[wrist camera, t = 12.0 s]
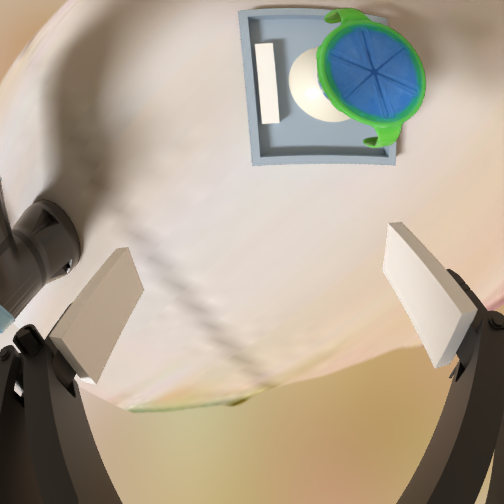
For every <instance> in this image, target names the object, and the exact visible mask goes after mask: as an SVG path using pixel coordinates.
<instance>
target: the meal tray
mask: <svg viewBox="0 0 504 504" xmlns="http://www.w3.org/2000/svg"><path fill="white" fill-rule="evenodd" d="M330 11H332V10H327V9H311V8H270V9H253V10H242V11H238V14H239V25H240V35H241V45H242V56H243V66H244V77H245V88H246V99H247V110H248V121H249V132H250V144H251V155H252V166H261V165H281V164H375V165H394V166H396V142H395V143H393V144H392V145H389V146H384V147H380V148H371V147H368V146H366V145H365V144H364V143H363V140H364V139H366V138H370V137H378V136H377V133H376V131H375V129H374V128H373V127H372V126H370V125H366V124H363V123H360V122H358V121H356V120H354V119H352V118H350V117H348V116H347V115H345V114H344V113H343V112H339V111H338V110H337V109H336V108H335V107H334V106H333V105H332V104H331V102H330V101H329V100H328V99H327V98H326V97H325V96H324V94H323V92H322V90H321V89H320V86H319V84H318V78H317V59H316V53H317V49H318V47H319V46H320V45H321V44H322V42H323V41H324V39H325V38H326V36H327V35H328V34H329V33H330V32H331V31H333V30H334V29H335V28H337V27H338V26H340V25H341V22H339V23H333V24H330V23H327V22H325V21H324V18H325V16H326V15H327V14H328V13H329V12H330ZM365 15H366V16H367V17H368V18H369V19H370V20H371V21H373V22H377V23H380V24H383V25H385V26H387V27H389V26H388V20H387V18H384V17H379V16H373V15H368V14H365Z"/></svg>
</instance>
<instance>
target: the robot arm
mask: <svg viewBox="0 0 504 504" xmlns="http://www.w3.org/2000/svg"><path fill="white" fill-rule="evenodd" d="M1 180H2V178H1V177H0V334H1V333H3V332H4V331H5V330H6V329H7V327H8V326H9V325H11V324H12V323H13V322H14V321H15V319H16V317H17V316H18V315H19V314H20V312H21V311H22V310H23V309H24V308H25V307H26V305H27V304H28V303H29V302H30V301H31V300H32V298H33V297H34V296H35V295H36V294H37V293H38V292H39V291H40V289H41V288H42V287H43V286H44V285H45V284H47V283H49V282H51V281H54V280H56V279H58V278H61V277H63V276H65V275H67V274H68V273H69V272H70V271H71V270H72V269H73V268H74V267H75V266H76V265H77V263H78V260H79V256H80V245H79V240H78V236H77V233H76V230H75V228H74V226H73V224H72V222H71V220H70V219H69V217H68V216H67V215H66V213H65V212H64V211H63V210H62V209H61V208H60V207H59V206H57V205H56V204H54V203H53V202H50V201H47V200H40V201H37V202H36V203H34V204H32V205H31V206H29V207H28V208H27V209H26V210H25V211H24V213H23V214H22V216H21V217H20V218H19V220H18V221H17V223H16V224H15V226H14V227H13V228H12V229H11V227H10V223H9V219H8V215H7V211H6V207H5V202H4V197H3V191H2V185H1ZM382 271H383V272H384V274H385V276H386V277H387V279H388V281H389V282H390V284H391V286H392V288H393V289H394V291H395V293H396V294H397V296H398V298H399V300H400V301H401V303H402V305H403V307H404V309H405V310H406V312H407V314H408V316H409V318H410V320H411V322H412V323H413V325H414V327H415V329H416V331H417V333H418V335H419V337H420V339H421V341H422V343H423V345H424V347H425V349H426V351H427V353H428V355H429V357H430V359H431V361H432V363H433V366H434V368H435V369H436V368H439V367H442V366H445V365H448V364H450V363H451V361H452V360H453V358H454V356H455V354H457V356H458V357H459V359H460V360H459V362H458V364H457V365H456V367H455V368H454V370H453V372H452V373H451V375H450V377H449V378H452V376H453V375H454V377H453V380H452V384H451V387H450V391H449V393H448V396H447V399H446V402H445V405H444V408H443V411H442V414H441V416H440V419H439V422H438V424H437V427H436V429H435V431H434V434H433V437H432V439H431V441H430V443H429V445H428V447H427V450H426V452H425V454H424V456H423V458H422V460H421V462H420V464H419V466H418V468H417V470H416V472H415V473H414V475H413V477H412V479H411V481H410V482H409V484H408V486H407V487H406V489H405V491H404V492H403V494H402V496H401V497H400V499H399V500H398V502H397V503H396V504H474V503H475V501H476V499H477V496H478V494H479V492H480V489H481V487H482V484H483V482H484V479H485V477H486V474H487V471H488V468H489V465H490V462H491V459H492V456H493V452H494V460H493V467H492V474H491V480H490V485H489V491H488V495H487V499H486V503H485V504H504V316H503V315H502V314H501V313H499V312H497V311H487V309H486V308H485V307H484V305H483V304H482V303H481V301H480V300H479V299H478V298H477V296H476V295H475V294H474V292H473V291H472V290H470V288H469V286H468V285H467V284H465V282H464V280H463V279H462V278H461V277H460V276H459V275H458V274H457V273H455V272H454V271H452V270H451V269H445V268H444V267H443V266H442V264H441V263H440V262H439V261H438V260H437V259H436V258H435V257H434V255H433V254H432V253H431V252H430V251H429V250H428V249H427V248H426V247H425V246H424V245H423V244H422V242H421V241H420V240H419V239H418V238H417V237H416V236H415V235H414V234H413V233H412V232H411V231H410V230H409V229H408V228H407V227H406V226H405V225H404V224H403V223H402V222H397V223H388V231H387V241H386V249H385V256H384V263H383V270H382ZM143 291H144V288H143V286H142V283H141V281H140V278H139V275H138V273H137V270H136V267H135V265H134V262H133V259H132V257H131V254H130V251H129V248H128V247H127V248H118V249H116V250H115V251H114V252H113V254H112V255H111V256H110V257H109V258H108V259H107V261H106V262H105V263H104V264H103V265H102V266H101V268H100V269H99V270H98V271H97V272H96V274H95V275H94V276H93V277H92V279H91V280H90V281H89V282H88V284H87V285H86V286H85V287H84V289H83V290H82V291H81V293H80V294H79V295H78V296H77V298H76V299H75V300H74V302H73V303H71V304H70V305H69V306H68V308H67V309H66V310H65V312H64V314H62V316H61V317H60V318H59V320H58V321H57V323H56V324H55V326H54V327H53V328H52V330H51V331H50V333H49V334H48V336H47V337H46V339H45V340H44V339H43V338H42V336H41V335H40V333H39V332H38V330H37V329H36V327H35V326H34V325H32V324H28V325H26V326H24V327H22V328H21V329H20V330H19V331H18V332H17V333H16V334H15V336H14V338H13V342H14V343H15V345H16V346H17V347H18V349H19V350H20V351H21V353H18V352H17V350H16V349H15V348H14V346H12V345H8V346H6V347H4V348H3V349H1V351H0V504H122V502H121V500H120V498H119V496H118V494H117V492H116V490H115V488H114V486H113V484H112V482H111V480H110V478H109V475H108V473H107V471H106V469H105V467H104V464H103V462H102V459H101V457H100V455H99V452H98V449H97V446H96V444H95V441H94V438H93V435H92V432H91V430H90V427H89V424H88V420H87V417H86V414H85V410H84V407H83V403H82V400H81V396H80V392H79V388H78V384H77V382H76V381H75V379H74V377H75V375H76V373H77V375H78V376H79V377H80V378H81V379H82V381H83V382H87V383H91V384H97V382H98V380H99V378H100V376H101V373H102V371H103V369H104V367H105V365H106V363H107V361H108V358H109V356H110V354H111V352H112V350H113V348H114V346H115V344H116V342H117V340H118V338H119V336H120V334H121V332H122V330H123V328H124V326H125V325H126V323H127V321H128V319H129V317H130V315H131V313H132V311H133V309H134V308H135V306H136V304H137V302H138V300H139V298H140V297H141V295H142V293H143ZM15 385H16V386H17V387H18V389H19V390H20V391H22V396H19V395H18V394H17V393H16V392H15V391H14V386H15ZM494 449H495V451H494Z"/></svg>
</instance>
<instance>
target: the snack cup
mask: <svg viewBox="0 0 504 504" xmlns="http://www.w3.org/2000/svg"><path fill="white" fill-rule="evenodd" d="M324 21H325V22H327V23H330V24H333V23H339V22H341V25H340V26H338V27H337V28H335V29H334V30H333V31H331V32H330V33H329V34H328V35H327V36H326V38H325V39H324V41H323V42H322V44H321V45H320V46H319V47H318V49H317V53H316V59H317V78H318V84H319V86H320V89H321V90H322V92H323V94H324V96H325V97H326V98H327V99H328V100H329V101H330V102H331V104H332V105H333V106H334V107H335V108H336V109H337V110H338V111H339V112H343V113H344V114H345V115H347V116H348V117H350V118H352V119H354V120H356V121H358V122H360V123H363V124H366V125H370V126H372V127H373V128H374V129H375V131H376V133H377V136H378V137H370V138H366V139H364V140H363V143H364V144H365V145H366V146H368V147H371V148H380V147H384V146H389V145H392V144H393V143H395V142H396V140H397V138H398V137H399V134H400V132H401V127H402V124H403V123H404V122H405V121H407V120H408V119H410V118H411V117H412V116H413V115H414V114H415V113H416V112H417V111H418V110H419V108H420V106H421V104H422V102H423V99H424V96H425V90H426V79H425V72H424V68H423V65H422V62H421V60H420V58H419V56H418V54H417V53H416V51H415V50H414V48H413V47H412V46H411V44H410V43H409V42H408V41H407V40H406V39H405V38H404V37H403V36H402V35H400V34H399V33H398V32H396V31H395V30H393V29H391V28H390V27H387V26H385V25H383V24H380V23H377V22H373V21H371V20H370V19H369V18H368V17H367V16H366V15H365V14H363V13H362V12H360V11H359V10H356V9H354V8H345V9H334V10H332V11H330V12H329V13H328V14H327V15H326V16H325V18H324Z"/></svg>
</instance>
